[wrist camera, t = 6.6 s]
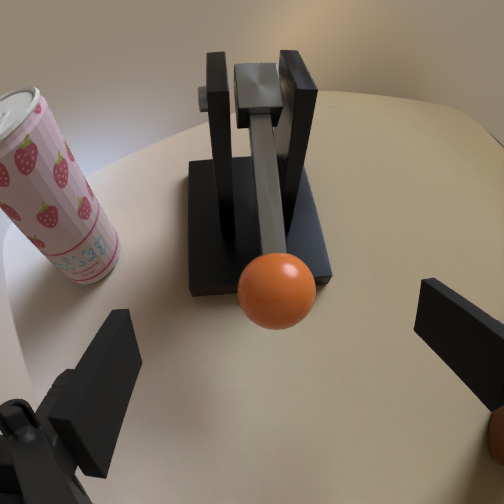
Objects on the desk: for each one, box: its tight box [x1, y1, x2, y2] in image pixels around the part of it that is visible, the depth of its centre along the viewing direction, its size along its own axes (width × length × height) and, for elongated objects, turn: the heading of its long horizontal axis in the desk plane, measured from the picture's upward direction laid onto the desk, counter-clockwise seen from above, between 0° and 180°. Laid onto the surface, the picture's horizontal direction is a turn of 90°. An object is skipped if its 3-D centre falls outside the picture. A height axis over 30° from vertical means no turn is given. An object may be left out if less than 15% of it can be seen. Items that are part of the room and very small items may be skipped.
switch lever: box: [234, 63, 316, 330], centre depth 15 cm, size 13×4×4 cm, turn 6°
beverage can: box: [0, 86, 120, 284], centre depth 18 cm, size 6×6×15 cm
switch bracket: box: [188, 50, 332, 297], centre depth 20 cm, size 12×10×14 cm
